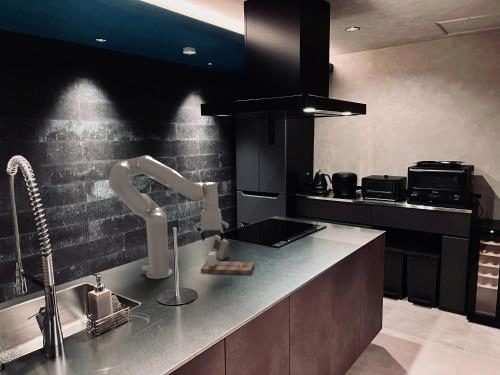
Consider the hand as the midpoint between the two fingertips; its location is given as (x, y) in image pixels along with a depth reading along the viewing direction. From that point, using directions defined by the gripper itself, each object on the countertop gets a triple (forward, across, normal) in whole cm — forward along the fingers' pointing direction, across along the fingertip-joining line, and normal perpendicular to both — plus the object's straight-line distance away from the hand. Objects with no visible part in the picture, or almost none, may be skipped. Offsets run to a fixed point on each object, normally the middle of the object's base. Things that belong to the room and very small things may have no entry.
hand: (212, 240), depth 193 cm
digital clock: (+16, -2, +20) cm, 25 cm away
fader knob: (+13, -1, 0) cm, 13 cm away
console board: (+15, +7, 0) cm, 17 cm away
